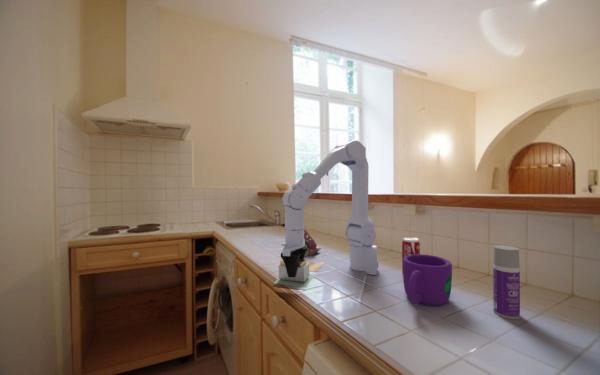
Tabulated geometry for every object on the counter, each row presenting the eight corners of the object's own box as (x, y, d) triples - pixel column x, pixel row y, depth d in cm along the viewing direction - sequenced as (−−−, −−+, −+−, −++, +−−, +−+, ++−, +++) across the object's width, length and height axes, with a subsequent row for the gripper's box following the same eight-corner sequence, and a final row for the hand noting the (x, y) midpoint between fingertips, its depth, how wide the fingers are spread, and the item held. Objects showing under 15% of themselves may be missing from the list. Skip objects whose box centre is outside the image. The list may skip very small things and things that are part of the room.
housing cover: (285, 261, 81) (285, 257, 81) (306, 263, 79) (306, 259, 79) (280, 264, 78) (280, 260, 78) (301, 267, 75) (301, 263, 75)
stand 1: (315, 278, 81) (315, 275, 81) (305, 290, 72) (305, 287, 72) (285, 275, 84) (285, 272, 84) (273, 286, 75) (273, 283, 75)
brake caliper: (284, 251, 105) (294, 226, 111) (296, 262, 112) (305, 237, 118) (307, 255, 99) (317, 228, 105) (319, 267, 106) (327, 240, 112)
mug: (411, 286, 74) (411, 251, 74) (456, 297, 67) (456, 258, 67) (386, 307, 62) (385, 265, 61) (438, 324, 54) (438, 276, 54)
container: (512, 321, 55) (511, 251, 55) (488, 311, 59) (488, 246, 59) (524, 316, 57) (524, 248, 57) (500, 307, 61) (500, 244, 61)
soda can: (399, 276, 82) (399, 238, 82) (405, 272, 86) (405, 236, 86) (416, 280, 79) (416, 241, 79) (422, 275, 83) (422, 238, 83)
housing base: (285, 273, 82) (285, 261, 82) (309, 276, 79) (309, 263, 79) (278, 279, 77) (278, 265, 77) (304, 281, 74) (303, 268, 74)
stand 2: (324, 265, 93) (324, 263, 93) (317, 275, 84) (317, 272, 84) (298, 263, 97) (298, 260, 97) (288, 272, 87) (288, 269, 87)
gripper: (290, 225, 86) (290, 265, 86) (272, 232, 72) (272, 280, 72) (310, 225, 84) (311, 267, 84) (296, 233, 70) (296, 283, 70)
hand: (294, 273), depth 78 cm, fingers closed on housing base, 5 cm apart
